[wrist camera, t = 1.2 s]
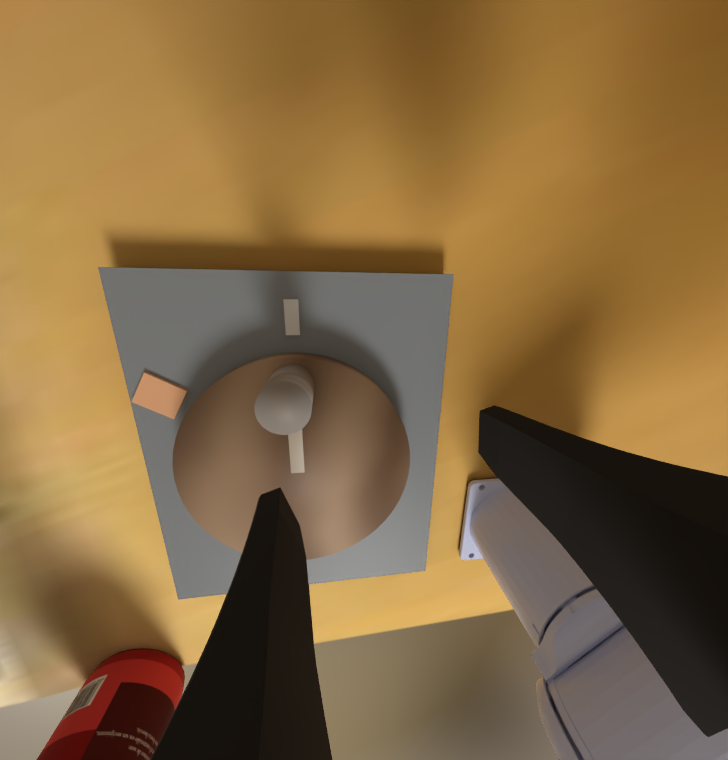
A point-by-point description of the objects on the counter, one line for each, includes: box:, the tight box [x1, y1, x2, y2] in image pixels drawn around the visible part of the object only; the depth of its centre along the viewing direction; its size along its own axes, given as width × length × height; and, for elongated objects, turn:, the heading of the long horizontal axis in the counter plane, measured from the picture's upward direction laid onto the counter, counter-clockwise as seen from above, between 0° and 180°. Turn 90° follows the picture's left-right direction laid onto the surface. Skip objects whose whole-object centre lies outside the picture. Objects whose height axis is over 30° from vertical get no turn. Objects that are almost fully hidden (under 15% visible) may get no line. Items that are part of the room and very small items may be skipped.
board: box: [98, 267, 453, 599], centre depth 20 cm, size 19×23×2 cm
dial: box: [172, 353, 410, 560], centre depth 16 cm, size 14×14×5 cm
